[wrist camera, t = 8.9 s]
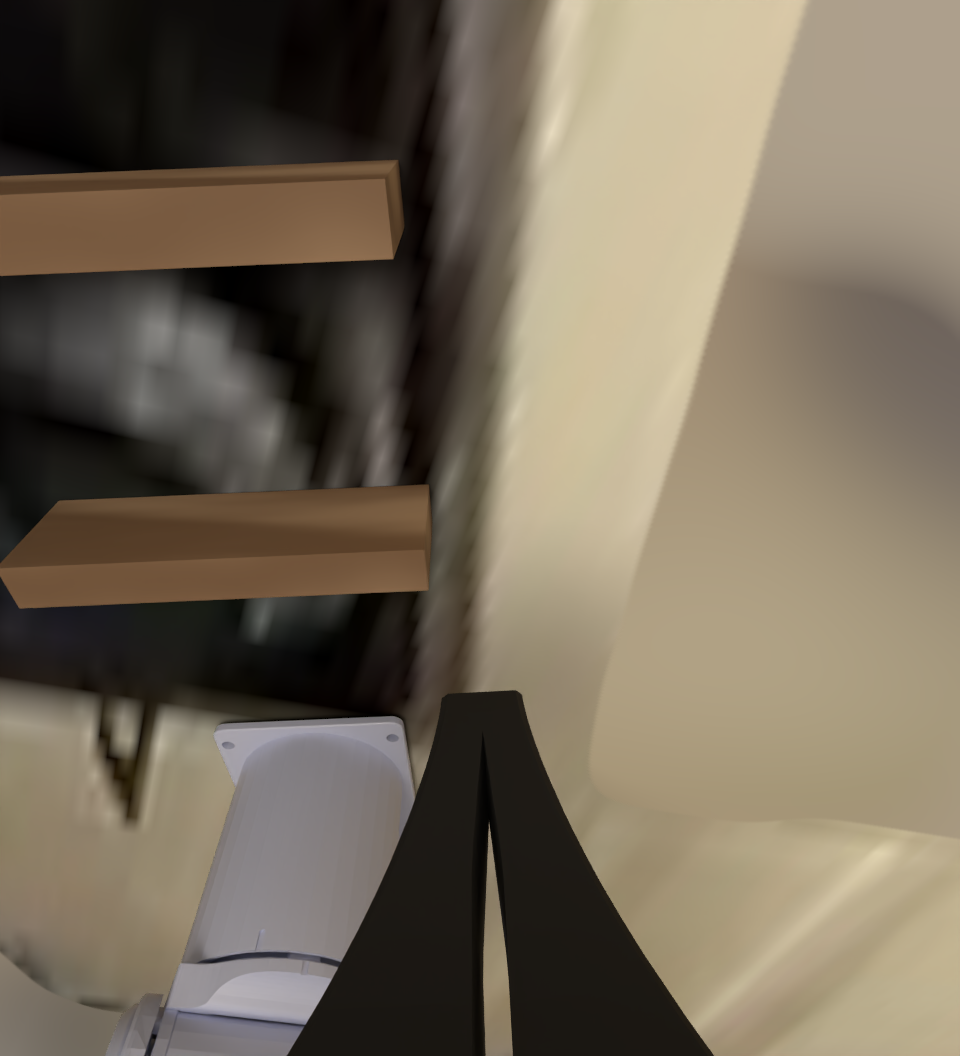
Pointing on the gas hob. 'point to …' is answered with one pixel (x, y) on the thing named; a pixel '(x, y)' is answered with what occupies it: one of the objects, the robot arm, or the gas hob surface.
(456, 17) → the gas hob surface
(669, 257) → the gas hob surface
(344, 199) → the chute
